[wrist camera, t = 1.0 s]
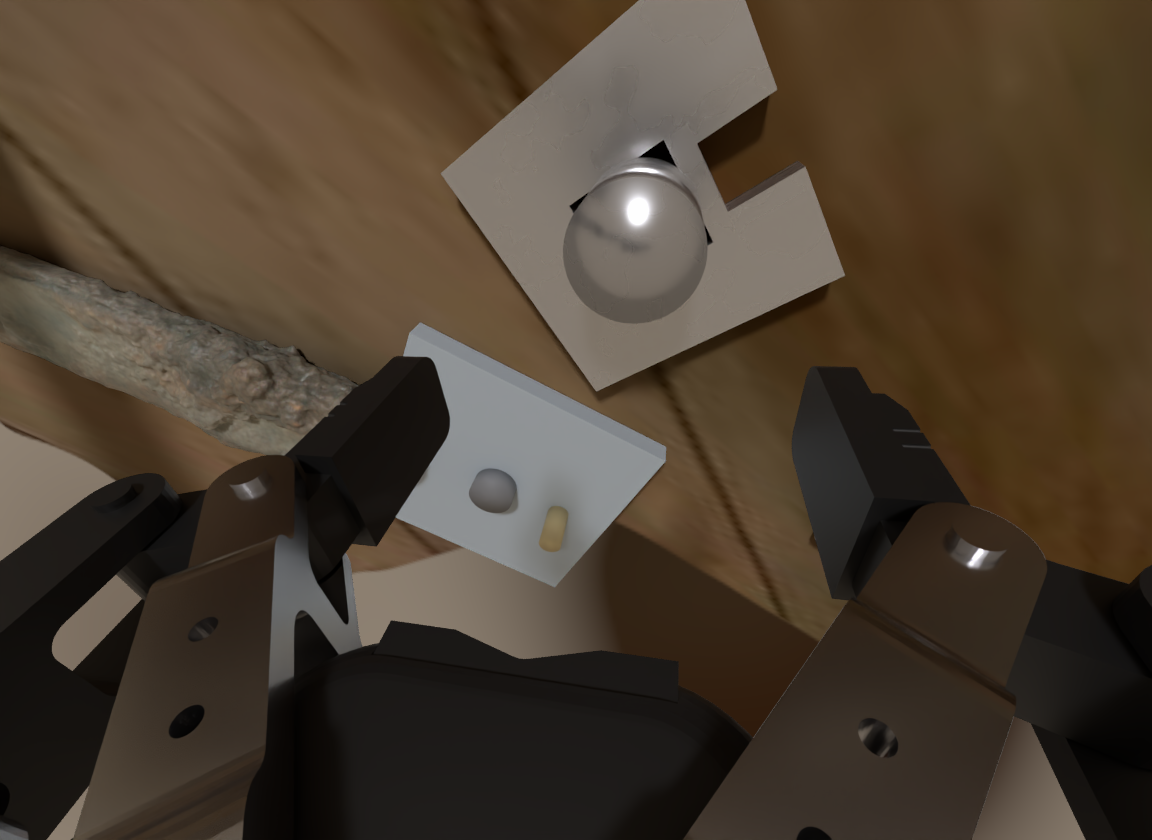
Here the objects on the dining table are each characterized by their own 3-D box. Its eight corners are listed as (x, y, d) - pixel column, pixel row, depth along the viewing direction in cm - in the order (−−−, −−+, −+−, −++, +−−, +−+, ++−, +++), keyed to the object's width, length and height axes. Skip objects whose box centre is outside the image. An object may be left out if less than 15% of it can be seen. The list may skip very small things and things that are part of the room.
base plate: (371, 489, 40) (342, 530, 37) (420, 322, 29) (384, 357, 26) (558, 572, 43) (547, 618, 39) (666, 446, 32) (664, 493, 28)
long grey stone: (-44, 186, 31) (20, 314, 37) (-161, 203, 27) (-67, 344, 33) (440, 394, 31) (423, 487, 38) (397, 442, 27) (387, 537, 33)
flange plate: (599, 377, 30) (583, 443, 24) (453, 168, 24) (390, 195, 18) (835, 264, 23) (881, 320, 18) (716, -60, 17) (733, -117, 12)
